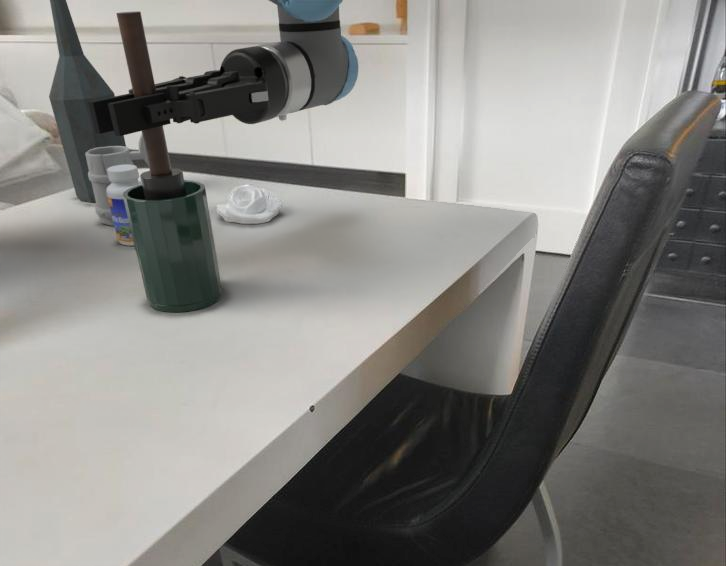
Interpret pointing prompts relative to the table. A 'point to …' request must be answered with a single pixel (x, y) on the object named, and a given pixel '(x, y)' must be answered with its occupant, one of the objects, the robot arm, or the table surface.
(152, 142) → the brush
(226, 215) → the rose
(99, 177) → the mug
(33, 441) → the table surface
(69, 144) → the bottle
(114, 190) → the pill bottle
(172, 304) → the dark green pencil cup
